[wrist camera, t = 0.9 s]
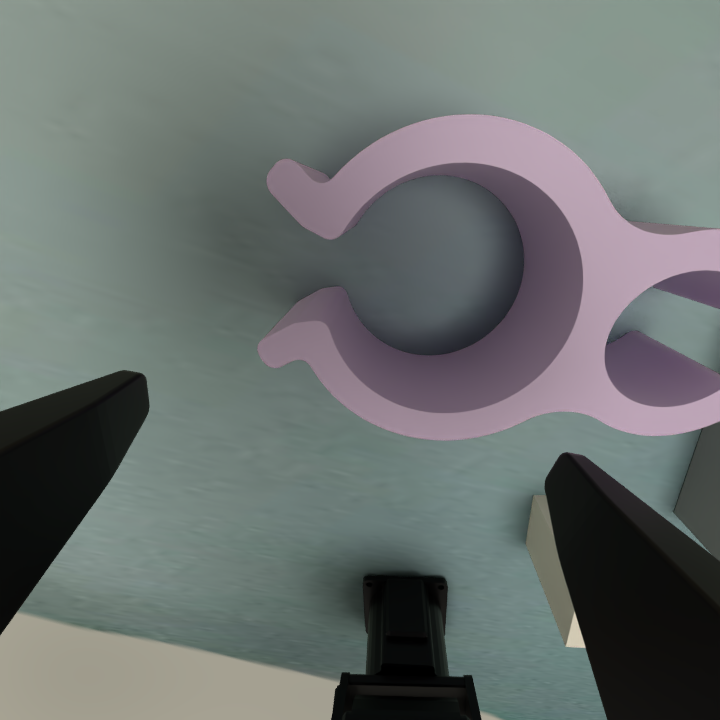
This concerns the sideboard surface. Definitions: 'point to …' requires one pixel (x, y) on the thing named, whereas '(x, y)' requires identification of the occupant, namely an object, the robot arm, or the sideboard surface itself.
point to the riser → (703, 491)
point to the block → (551, 571)
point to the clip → (531, 307)
